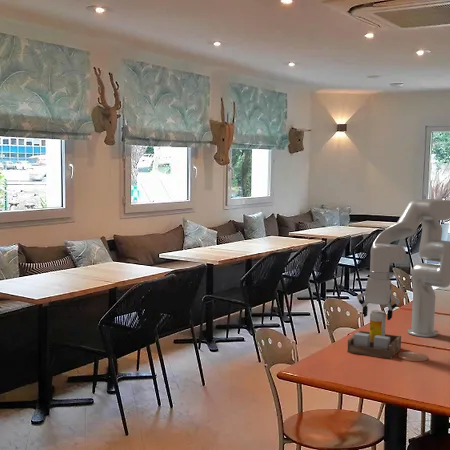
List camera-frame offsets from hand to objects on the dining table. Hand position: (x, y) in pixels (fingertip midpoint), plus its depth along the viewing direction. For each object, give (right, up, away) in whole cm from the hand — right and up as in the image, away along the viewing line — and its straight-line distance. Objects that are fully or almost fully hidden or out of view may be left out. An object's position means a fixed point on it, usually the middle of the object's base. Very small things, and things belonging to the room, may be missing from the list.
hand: (377, 317), depth 252 cm
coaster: (+11, -14, -11) cm, 21 cm away
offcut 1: (-7, -13, -4) cm, 15 cm away
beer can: (0, -13, +1) cm, 13 cm away
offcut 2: (0, -13, -8) cm, 15 cm away
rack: (-1, -13, -2) cm, 13 cm away
